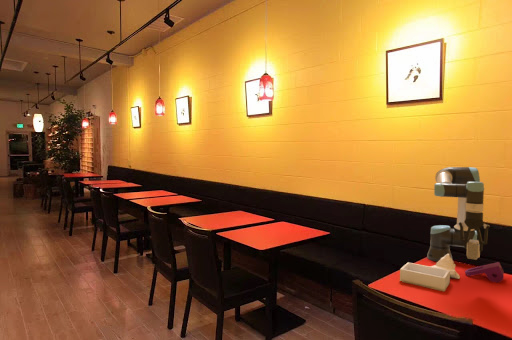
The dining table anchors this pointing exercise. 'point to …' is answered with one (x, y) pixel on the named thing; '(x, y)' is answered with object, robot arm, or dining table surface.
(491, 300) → the dining table surface
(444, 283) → the cream rectangular tray
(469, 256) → the brushed metal block
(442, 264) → the cream faceted chunk
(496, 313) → the dining table surface
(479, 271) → the mounting bracket
